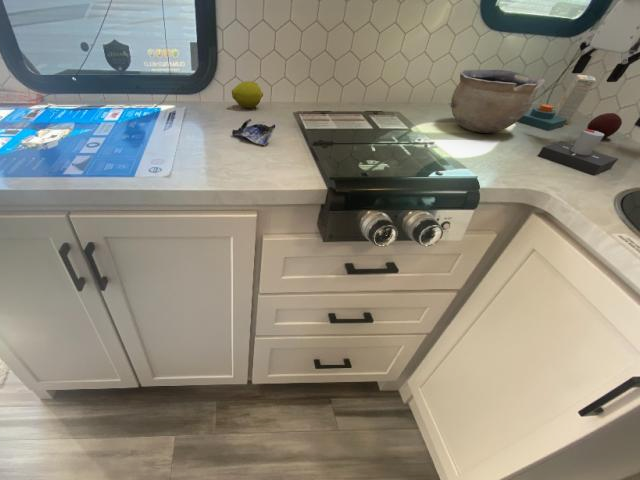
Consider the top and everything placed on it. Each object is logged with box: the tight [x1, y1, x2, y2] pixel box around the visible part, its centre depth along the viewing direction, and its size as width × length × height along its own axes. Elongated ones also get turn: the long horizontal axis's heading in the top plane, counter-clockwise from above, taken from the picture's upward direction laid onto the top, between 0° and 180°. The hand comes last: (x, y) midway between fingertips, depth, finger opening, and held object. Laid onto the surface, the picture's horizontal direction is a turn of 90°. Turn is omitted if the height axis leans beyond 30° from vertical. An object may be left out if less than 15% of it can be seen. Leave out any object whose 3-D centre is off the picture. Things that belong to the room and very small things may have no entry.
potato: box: [586, 112, 623, 139], centre depth 107 cm, size 7×8×7 cm
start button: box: [538, 103, 554, 112], centre depth 115 cm, size 4×4×2 cm
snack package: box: [231, 118, 276, 147], centre depth 98 cm, size 12×6×12 cm
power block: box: [517, 106, 568, 131], centre depth 117 cm, size 12×10×4 cm
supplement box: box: [554, 74, 597, 125], centre depth 116 cm, size 8×5×13 cm, turn 147°
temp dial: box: [571, 128, 604, 155], centre depth 90 cm, size 4×4×5 cm
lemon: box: [231, 80, 264, 109], centre depth 117 cm, size 11×8×8 cm
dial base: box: [537, 140, 619, 176], centre depth 93 cm, size 14×10×3 cm
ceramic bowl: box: [450, 69, 546, 134], centre depth 106 cm, size 22×22×15 cm
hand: (593, 77), depth 93 cm, fingers open, 9 cm apart
